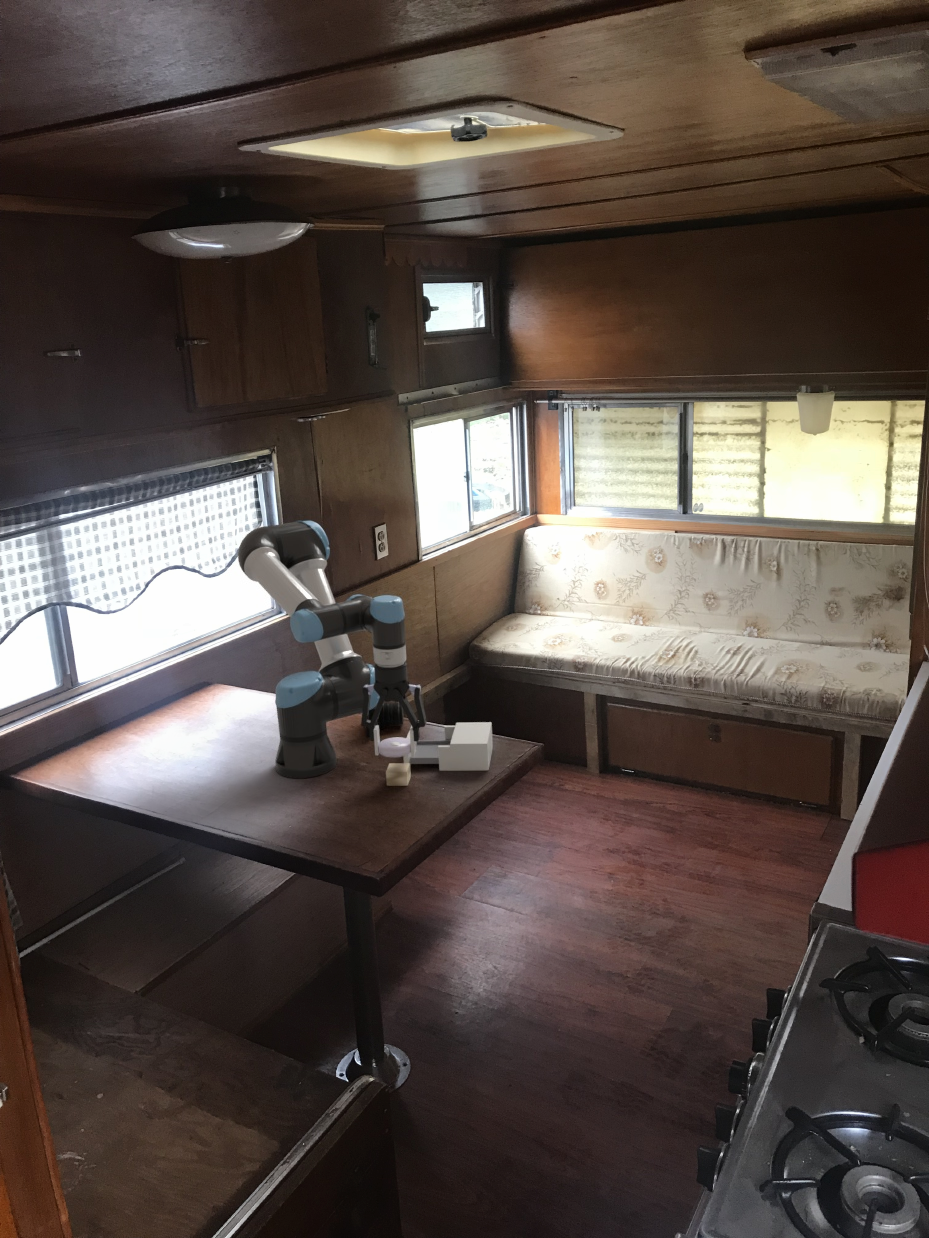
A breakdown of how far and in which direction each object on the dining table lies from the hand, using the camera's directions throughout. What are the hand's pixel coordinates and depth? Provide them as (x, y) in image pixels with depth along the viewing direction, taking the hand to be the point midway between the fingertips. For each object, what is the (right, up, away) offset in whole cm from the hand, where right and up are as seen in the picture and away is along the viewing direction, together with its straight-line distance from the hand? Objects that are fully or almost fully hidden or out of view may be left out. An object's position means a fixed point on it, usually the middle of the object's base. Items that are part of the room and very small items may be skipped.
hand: (395, 752), depth 235 cm
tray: (+8, -3, +13) cm, 16 cm away
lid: (0, +1, 0) cm, 1 cm away
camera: (-6, +2, +36) cm, 36 cm away
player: (+17, -3, +12) cm, 21 cm away
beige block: (+1, -7, +1) cm, 7 cm away
